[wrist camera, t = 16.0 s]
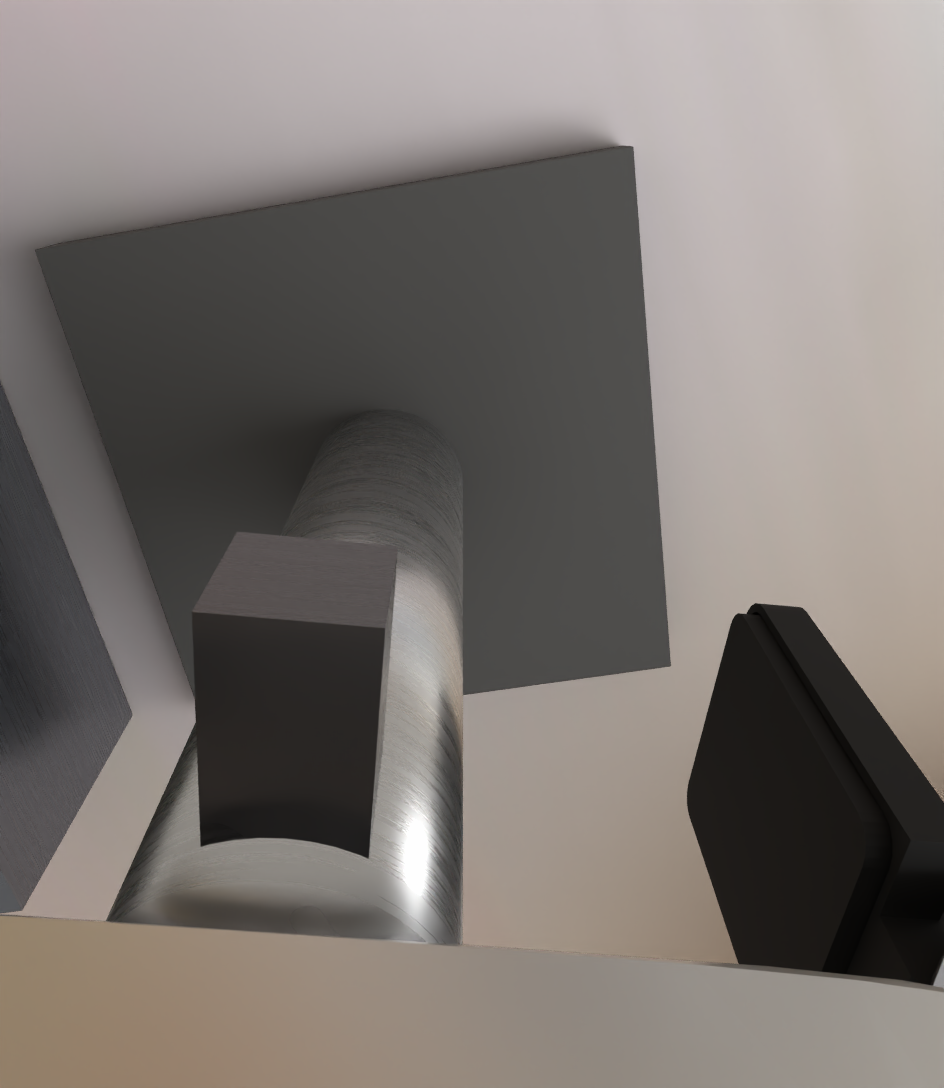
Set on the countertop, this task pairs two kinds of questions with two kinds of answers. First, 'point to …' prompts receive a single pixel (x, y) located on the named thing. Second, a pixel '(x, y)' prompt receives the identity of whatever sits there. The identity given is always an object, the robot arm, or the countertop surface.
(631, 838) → the countertop surface
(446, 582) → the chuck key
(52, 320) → the countertop surface
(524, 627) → the rubber pad
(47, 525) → the block
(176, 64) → the countertop surface
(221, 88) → the countertop surface
